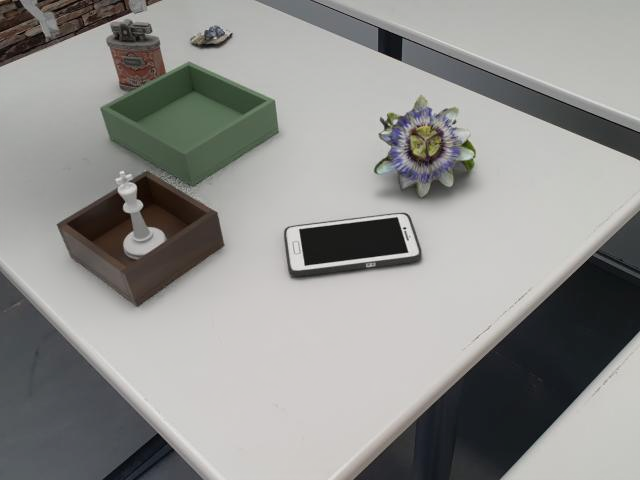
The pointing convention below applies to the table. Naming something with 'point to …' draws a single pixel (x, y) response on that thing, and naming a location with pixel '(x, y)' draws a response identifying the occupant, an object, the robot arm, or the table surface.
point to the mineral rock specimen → (210, 36)
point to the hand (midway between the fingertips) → (96, 21)
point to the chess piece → (137, 222)
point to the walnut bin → (159, 212)
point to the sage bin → (191, 121)
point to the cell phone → (351, 244)
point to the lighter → (135, 54)
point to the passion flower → (425, 147)
